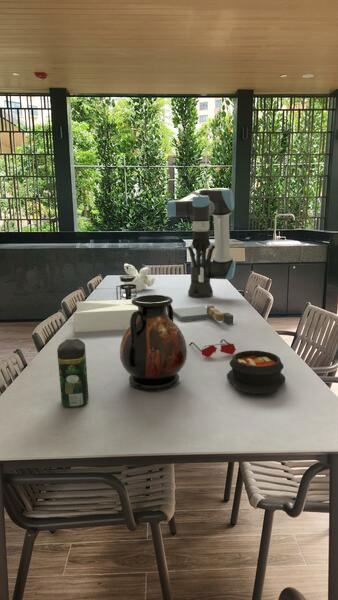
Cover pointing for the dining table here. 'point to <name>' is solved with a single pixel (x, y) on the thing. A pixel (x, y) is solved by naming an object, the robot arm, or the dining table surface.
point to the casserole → (256, 372)
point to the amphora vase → (153, 345)
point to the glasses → (212, 349)
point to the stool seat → (191, 313)
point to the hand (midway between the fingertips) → (201, 281)
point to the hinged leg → (215, 313)
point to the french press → (127, 289)
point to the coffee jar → (73, 373)
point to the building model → (103, 315)
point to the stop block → (228, 318)
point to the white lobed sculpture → (139, 278)
